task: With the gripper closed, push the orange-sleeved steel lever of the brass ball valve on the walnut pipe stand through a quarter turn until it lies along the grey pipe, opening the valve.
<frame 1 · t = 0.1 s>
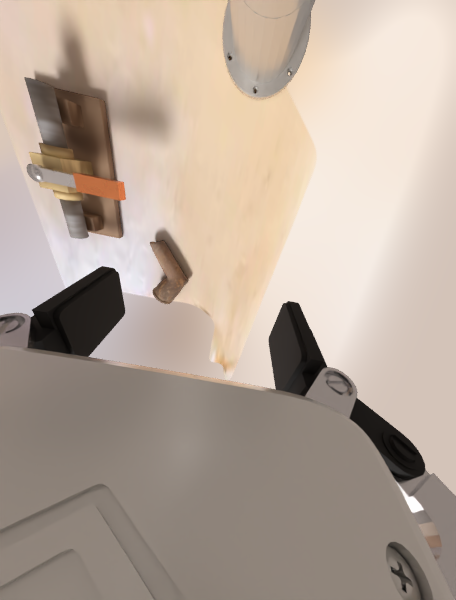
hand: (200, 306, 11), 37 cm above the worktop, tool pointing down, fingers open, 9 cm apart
pipe: (167, 269, 51), on the worktop
valve stand: (86, 174, 39), on the worktop
valve lever: (76, 181, 30), point 11 cm above the worktop, hinge at 0.0°
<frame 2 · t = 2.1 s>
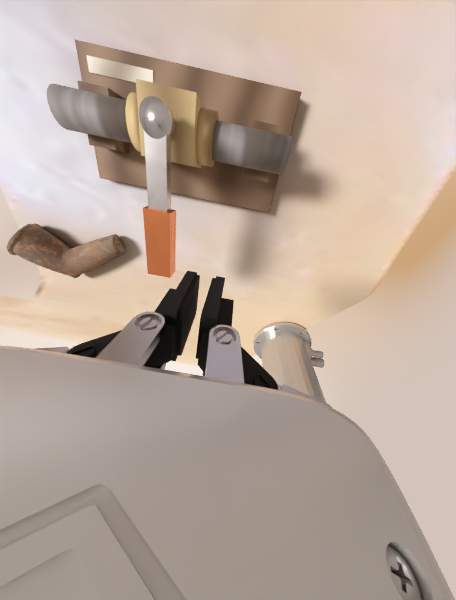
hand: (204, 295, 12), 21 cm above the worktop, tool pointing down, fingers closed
pipe: (81, 241, 33), on the worktop
valve stand: (190, 142, 24), on the worktop
valve lever: (160, 205, 18), point 11 cm above the worktop, hinge at 0.0°
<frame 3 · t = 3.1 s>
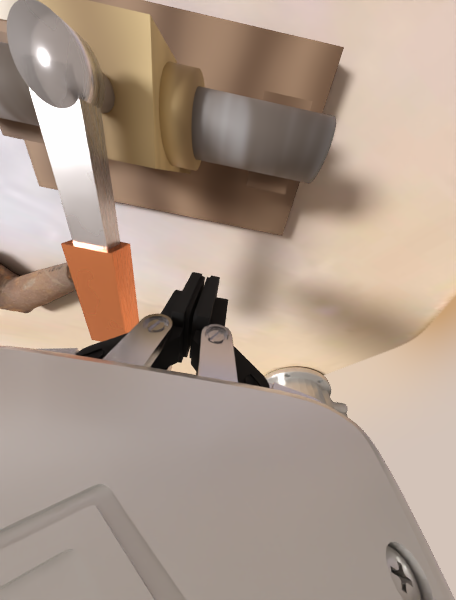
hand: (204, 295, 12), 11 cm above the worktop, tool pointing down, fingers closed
pipe: (33, 267, 25), on the worktop
valve stand: (168, 134, 16), on the worktop
valve lever: (96, 237, 10), point 11 cm above the worktop, hinge at 0.0°
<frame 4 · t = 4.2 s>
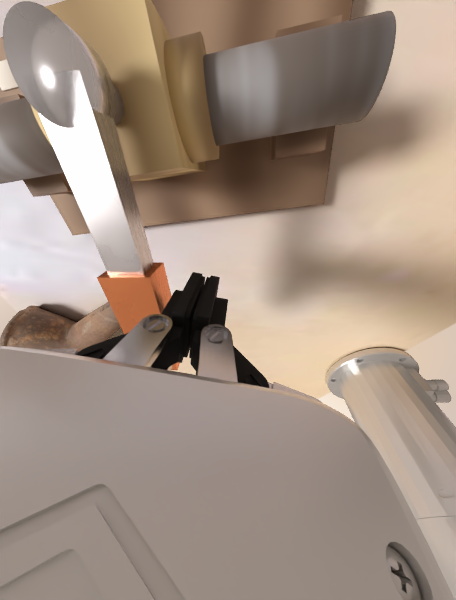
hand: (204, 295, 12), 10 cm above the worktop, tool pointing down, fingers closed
pipe: (85, 310, 27), on the worktop
valve stand: (174, 139, 15), on the worktop
valve lever: (130, 263, 9), point 11 cm above the worktop, hinge at 5.3°, touching gripper
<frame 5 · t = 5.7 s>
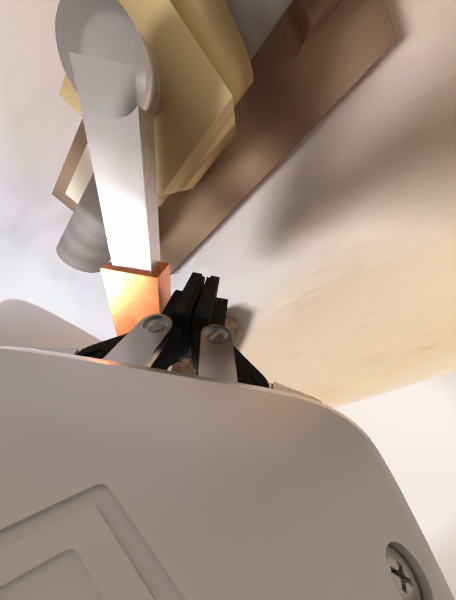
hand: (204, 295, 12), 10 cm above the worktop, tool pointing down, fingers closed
pipe: (197, 344, 29), on the worktop
valve stand: (193, 136, 15), on the worktop
valve lever: (137, 258, 9), point 11 cm above the worktop, hinge at 52.9°, touching gripper
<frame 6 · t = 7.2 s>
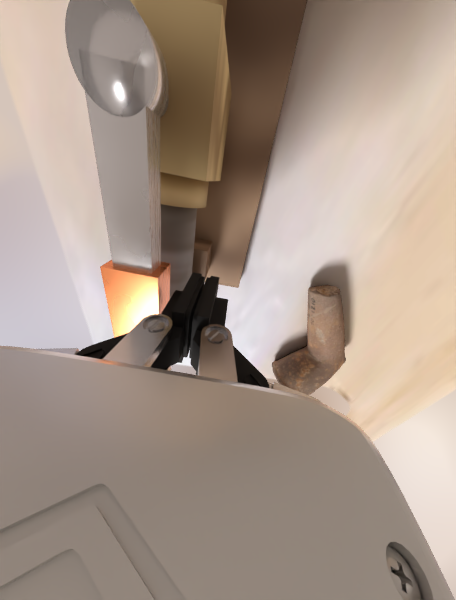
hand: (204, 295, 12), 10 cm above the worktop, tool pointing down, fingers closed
pipe: (300, 332, 26), on the worktop
valve stand: (196, 138, 15), on the worktop
valve lever: (137, 258, 9), point 11 cm above the worktop, hinge at 91.0°, touching gripper
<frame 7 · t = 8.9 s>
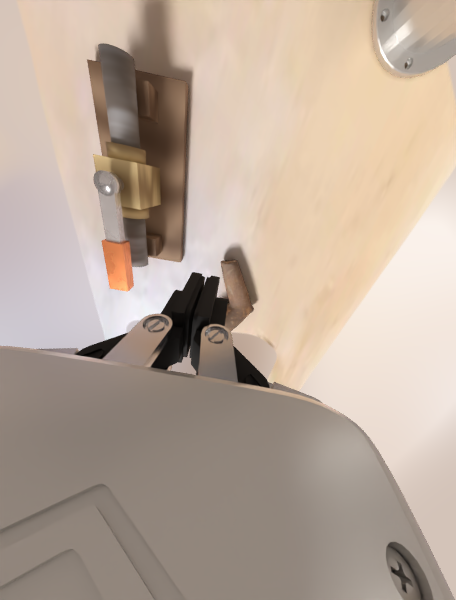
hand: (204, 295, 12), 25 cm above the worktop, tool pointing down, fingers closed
pipe: (227, 293, 41), on the worktop
valve stand: (148, 184, 30), on the worktop
valve lever: (115, 238, 24), point 11 cm above the worktop, hinge at 91.2°
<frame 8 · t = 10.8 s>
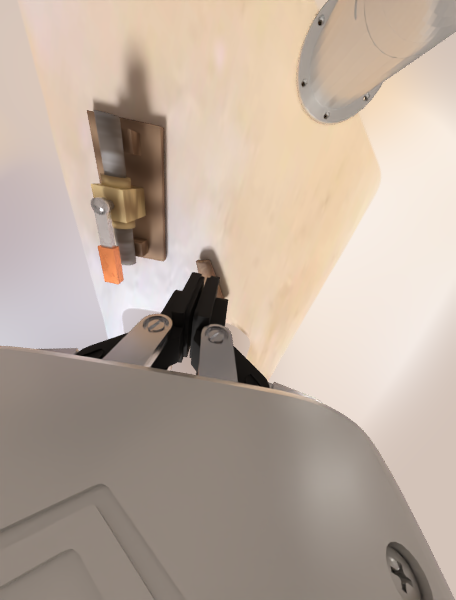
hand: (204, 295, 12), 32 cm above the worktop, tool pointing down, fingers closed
pipe: (203, 286, 49), on the worktop
valve stand: (135, 199, 38), on the worktop
valve lever: (108, 244, 32), point 11 cm above the worktop, hinge at 91.2°
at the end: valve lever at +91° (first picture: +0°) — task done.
